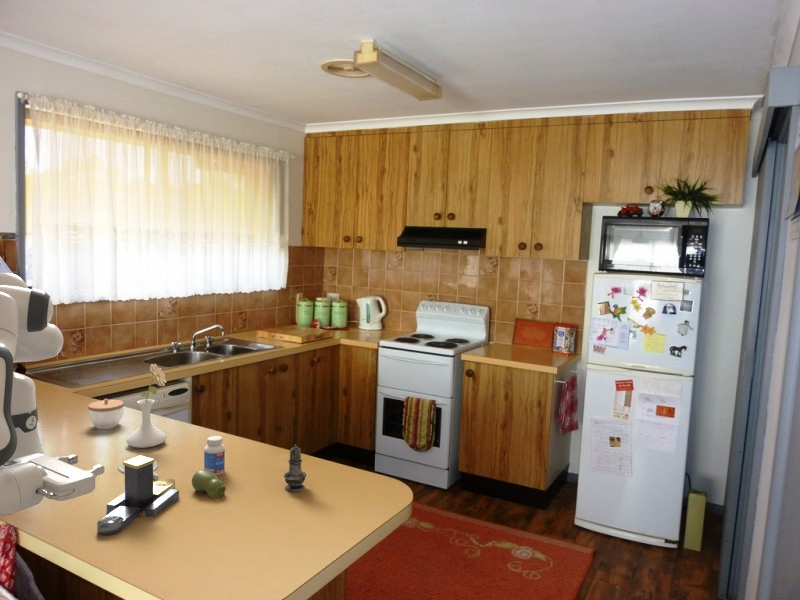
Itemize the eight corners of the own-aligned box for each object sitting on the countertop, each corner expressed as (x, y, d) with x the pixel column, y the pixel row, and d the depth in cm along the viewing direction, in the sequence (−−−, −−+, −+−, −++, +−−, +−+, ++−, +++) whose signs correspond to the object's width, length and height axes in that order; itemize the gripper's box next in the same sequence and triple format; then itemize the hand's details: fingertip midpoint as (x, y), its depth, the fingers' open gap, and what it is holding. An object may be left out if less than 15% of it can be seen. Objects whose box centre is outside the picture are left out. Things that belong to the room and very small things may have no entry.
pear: (206, 463, 154) (232, 479, 149) (203, 482, 155) (229, 498, 150) (188, 470, 149) (214, 486, 144) (185, 489, 150) (211, 505, 145)
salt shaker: (310, 485, 155) (310, 441, 154) (299, 494, 150) (300, 449, 149) (290, 482, 157) (291, 438, 156) (279, 490, 152) (279, 446, 150)
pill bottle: (218, 477, 159) (218, 442, 158) (200, 475, 160) (200, 440, 159) (228, 469, 164) (228, 435, 163) (210, 467, 165) (210, 434, 164)
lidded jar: (130, 425, 200) (130, 398, 199) (100, 433, 191) (99, 405, 190) (112, 419, 205) (111, 393, 204) (82, 427, 196) (81, 399, 195)
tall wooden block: (137, 514, 137) (136, 465, 135) (123, 509, 139) (123, 461, 138) (154, 506, 141) (154, 459, 140) (141, 502, 143) (140, 455, 142)
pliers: (153, 456, 170) (171, 472, 158) (153, 461, 170) (171, 478, 158) (116, 463, 163) (132, 481, 152) (116, 469, 163) (132, 487, 152)
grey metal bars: (135, 493, 148) (135, 485, 148) (178, 497, 146) (178, 489, 146) (78, 532, 128) (77, 523, 127) (128, 538, 126) (127, 529, 126)
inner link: (161, 484, 153) (161, 477, 153) (178, 486, 152) (178, 479, 152) (139, 500, 144) (139, 492, 144) (158, 502, 143) (158, 494, 143)
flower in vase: (148, 453, 175) (146, 371, 172) (117, 448, 178) (116, 367, 176) (177, 439, 187) (177, 362, 184) (148, 434, 191) (147, 359, 188)
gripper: (53, 484, 112) (118, 460, 124) (-4, 459, 122) (61, 439, 134) (54, 515, 113) (119, 489, 125) (-3, 488, 123) (62, 465, 135)
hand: (89, 463), depth 130 cm, fingers open, 8 cm apart
